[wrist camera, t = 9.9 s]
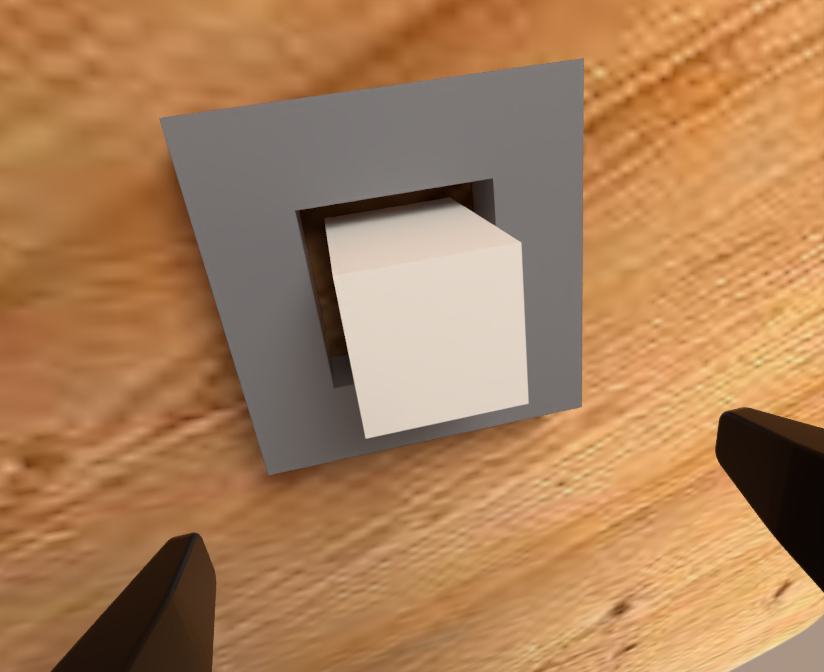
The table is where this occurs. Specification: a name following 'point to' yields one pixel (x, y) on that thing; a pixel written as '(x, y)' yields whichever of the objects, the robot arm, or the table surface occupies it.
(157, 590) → the robot arm
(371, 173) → the socket block
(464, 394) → the plug
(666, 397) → the table surface
